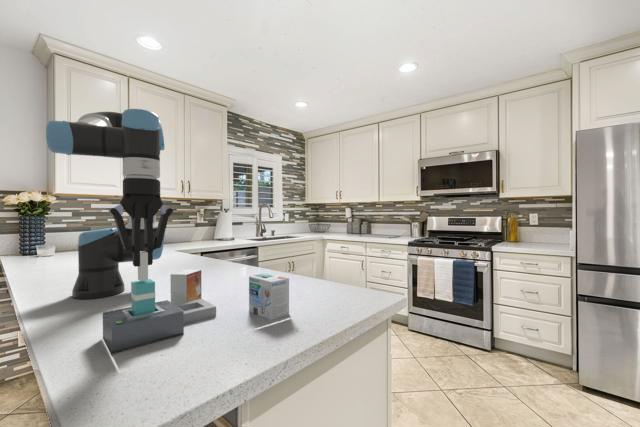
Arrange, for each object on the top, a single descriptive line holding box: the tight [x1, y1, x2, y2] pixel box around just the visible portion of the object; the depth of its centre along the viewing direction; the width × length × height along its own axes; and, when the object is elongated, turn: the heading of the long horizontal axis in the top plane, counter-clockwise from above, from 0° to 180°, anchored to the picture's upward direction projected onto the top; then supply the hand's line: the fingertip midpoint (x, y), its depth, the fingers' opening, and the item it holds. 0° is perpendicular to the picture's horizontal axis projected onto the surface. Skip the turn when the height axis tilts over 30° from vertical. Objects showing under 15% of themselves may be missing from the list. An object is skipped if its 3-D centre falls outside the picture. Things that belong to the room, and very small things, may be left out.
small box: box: [170, 268, 202, 305], centre depth 94 cm, size 8×6×10 cm
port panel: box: [102, 299, 185, 357], centre depth 70 cm, size 12×14×6 cm
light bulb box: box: [248, 272, 290, 321], centre depth 85 cm, size 11×7×11 cm, turn 47°
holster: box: [175, 298, 217, 325], centre depth 83 cm, size 10×10×3 cm
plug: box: [130, 278, 156, 316], centre depth 70 cm, size 4×4×12 cm
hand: (142, 279), depth 70 cm, fingers closed
